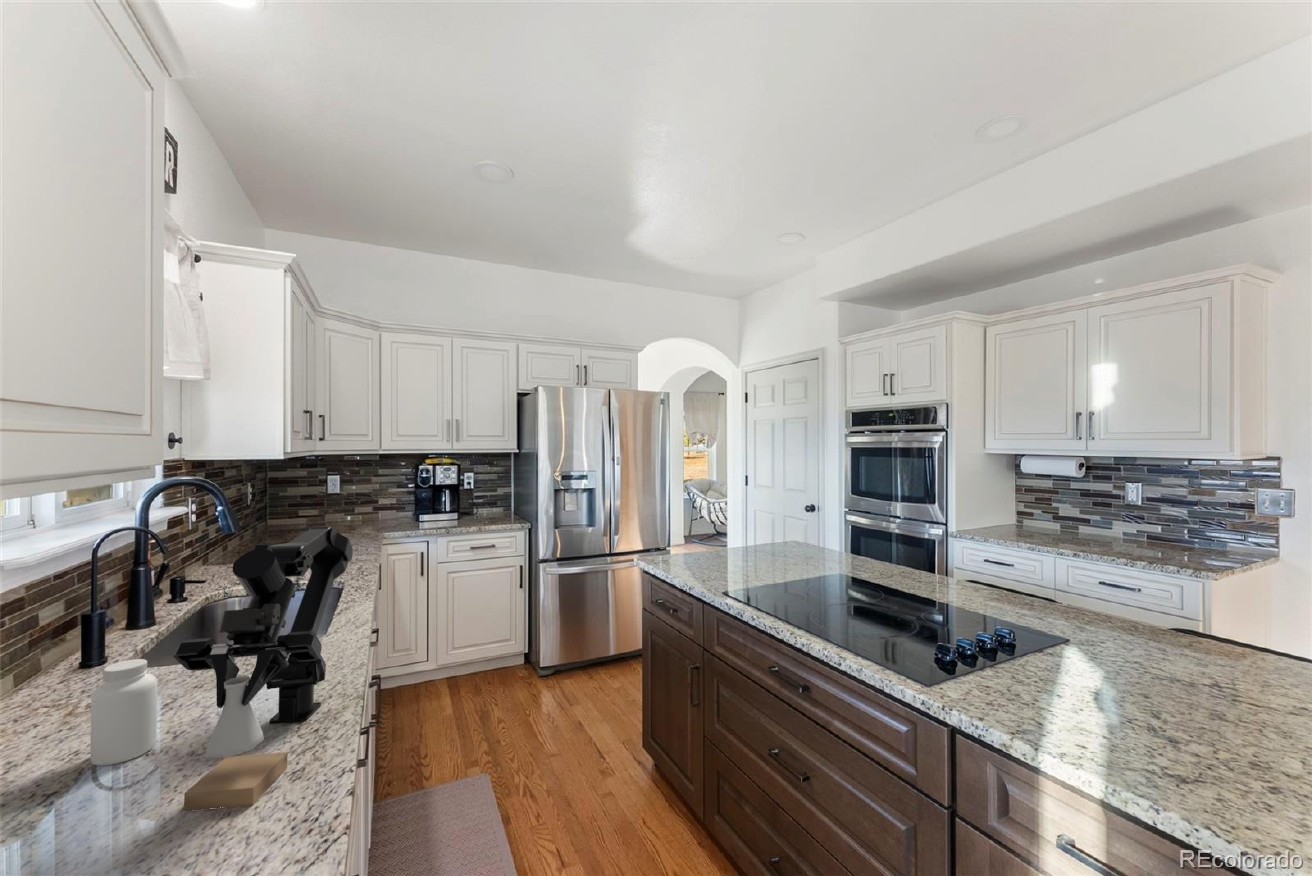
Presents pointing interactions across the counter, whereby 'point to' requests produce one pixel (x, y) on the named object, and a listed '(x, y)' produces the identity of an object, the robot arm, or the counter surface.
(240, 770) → the square wooden block
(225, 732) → the flask
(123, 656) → the counter surface
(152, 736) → the pill bottle
